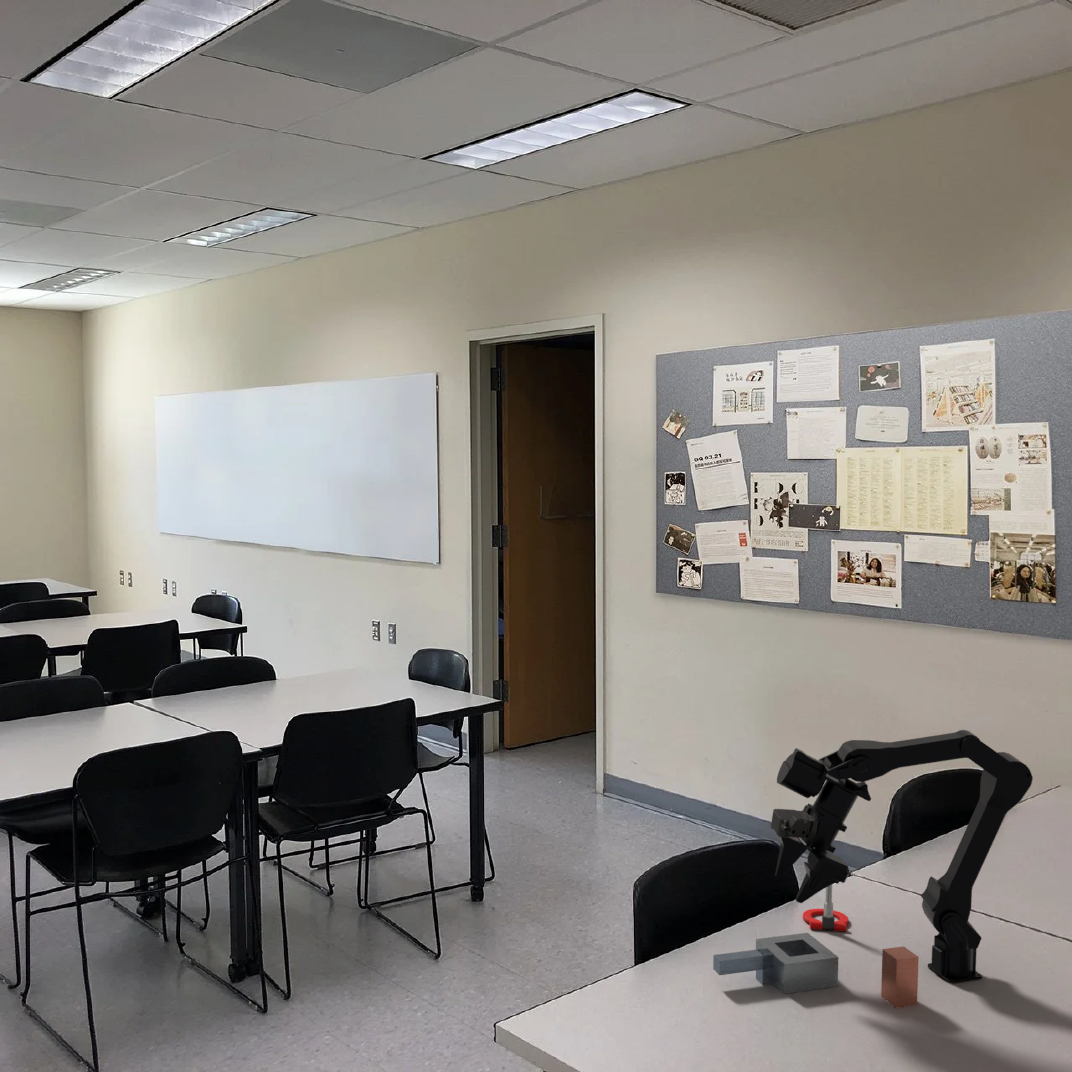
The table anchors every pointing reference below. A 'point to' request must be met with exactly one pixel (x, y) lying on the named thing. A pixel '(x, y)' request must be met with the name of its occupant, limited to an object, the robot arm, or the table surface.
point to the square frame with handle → (784, 963)
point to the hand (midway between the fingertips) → (787, 888)
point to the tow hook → (826, 916)
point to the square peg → (899, 976)
